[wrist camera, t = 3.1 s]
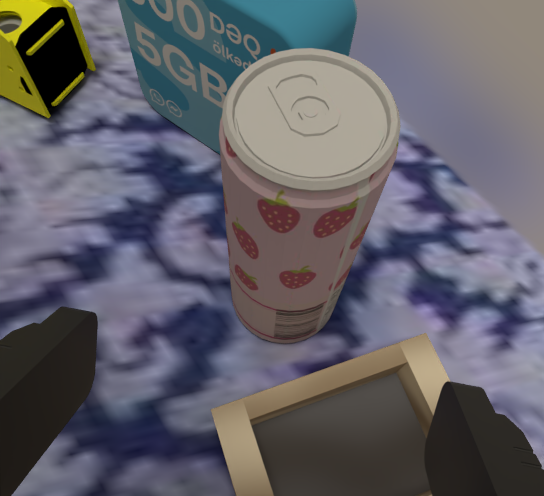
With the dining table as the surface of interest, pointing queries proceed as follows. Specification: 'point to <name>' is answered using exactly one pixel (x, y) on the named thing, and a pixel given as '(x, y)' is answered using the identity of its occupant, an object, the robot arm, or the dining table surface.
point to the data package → (221, 48)
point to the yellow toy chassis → (41, 52)
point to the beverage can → (301, 183)
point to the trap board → (338, 428)
